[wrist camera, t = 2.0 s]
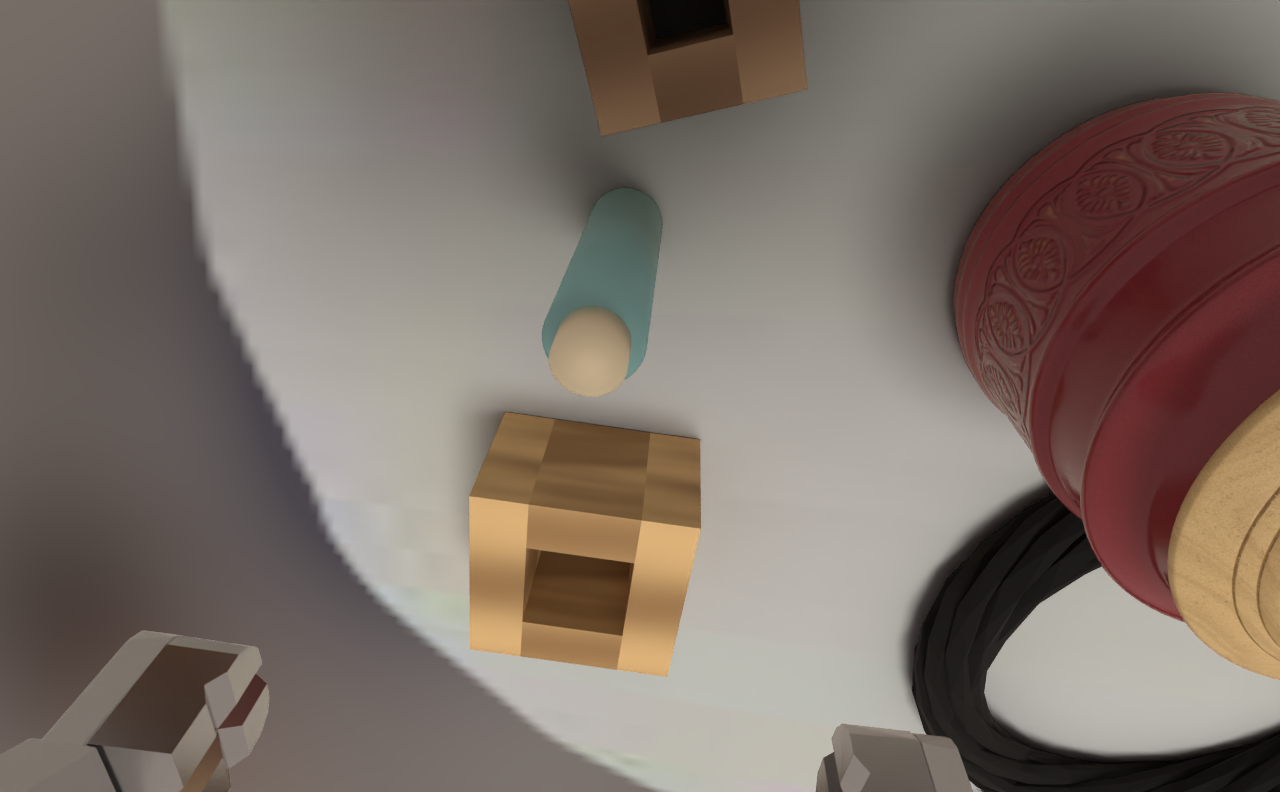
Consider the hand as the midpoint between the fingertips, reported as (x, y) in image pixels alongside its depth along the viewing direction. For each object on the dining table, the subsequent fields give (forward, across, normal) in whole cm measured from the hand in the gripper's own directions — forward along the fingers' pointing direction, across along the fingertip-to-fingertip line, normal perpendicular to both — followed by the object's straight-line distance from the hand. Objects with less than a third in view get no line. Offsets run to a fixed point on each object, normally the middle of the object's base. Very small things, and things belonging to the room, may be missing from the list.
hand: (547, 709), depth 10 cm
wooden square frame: (+21, +1, +13) cm, 25 cm away
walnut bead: (+20, 0, -9) cm, 22 cm away
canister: (+21, -18, -2) cm, 28 cm away
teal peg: (+20, +1, -1) cm, 21 cm away
